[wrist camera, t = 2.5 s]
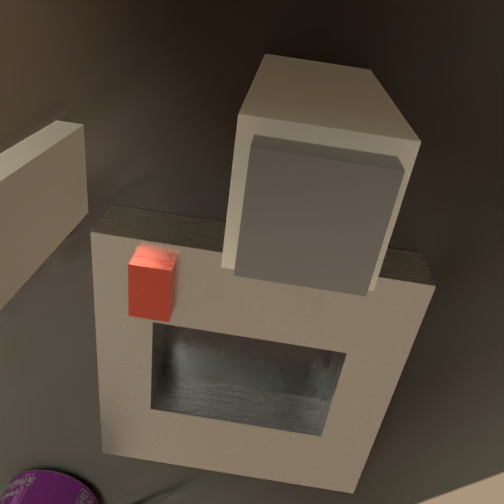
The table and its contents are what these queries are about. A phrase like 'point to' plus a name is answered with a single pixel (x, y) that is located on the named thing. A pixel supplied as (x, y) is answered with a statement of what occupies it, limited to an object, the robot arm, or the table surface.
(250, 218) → the plug
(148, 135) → the table surface
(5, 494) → the beverage can
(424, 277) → the socket block
